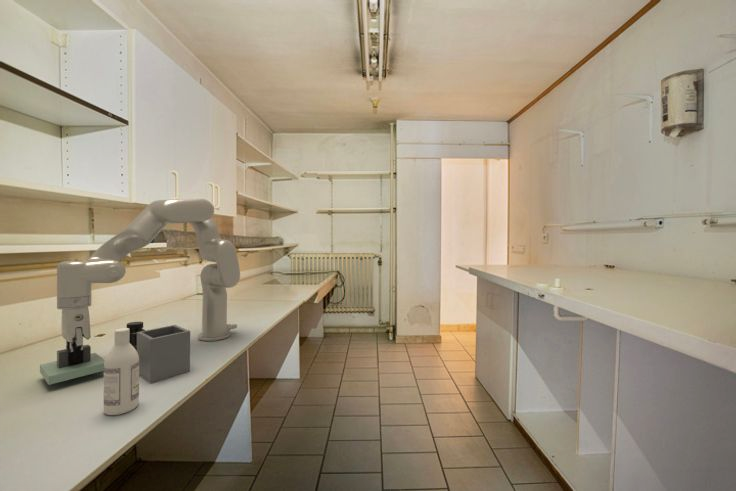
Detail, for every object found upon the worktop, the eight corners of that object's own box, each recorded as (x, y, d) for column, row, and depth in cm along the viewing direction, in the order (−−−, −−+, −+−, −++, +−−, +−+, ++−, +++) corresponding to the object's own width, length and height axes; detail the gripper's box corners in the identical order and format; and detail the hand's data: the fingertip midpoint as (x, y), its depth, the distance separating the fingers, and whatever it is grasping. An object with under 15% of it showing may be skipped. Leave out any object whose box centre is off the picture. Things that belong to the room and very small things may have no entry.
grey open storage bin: (174, 362, 106) (175, 324, 106) (189, 371, 100) (190, 331, 100) (136, 373, 98) (136, 332, 97) (150, 383, 91) (150, 339, 91)
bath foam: (134, 398, 83) (135, 323, 82) (142, 408, 78) (143, 329, 78) (100, 408, 77) (101, 329, 77) (106, 419, 73) (107, 335, 72)
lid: (95, 359, 102) (95, 339, 102) (107, 369, 95) (107, 347, 95) (39, 372, 92) (40, 349, 92) (48, 384, 85) (48, 360, 85)
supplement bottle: (133, 361, 107) (133, 326, 107) (117, 359, 108) (117, 324, 108) (150, 353, 114) (151, 321, 113) (135, 352, 115) (135, 319, 115)
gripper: (98, 303, 91) (98, 365, 92) (83, 296, 101) (83, 352, 101) (63, 308, 85) (63, 374, 86) (51, 300, 95) (51, 359, 95)
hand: (74, 362), depth 94 cm, fingers closed on lid, 2 cm apart
